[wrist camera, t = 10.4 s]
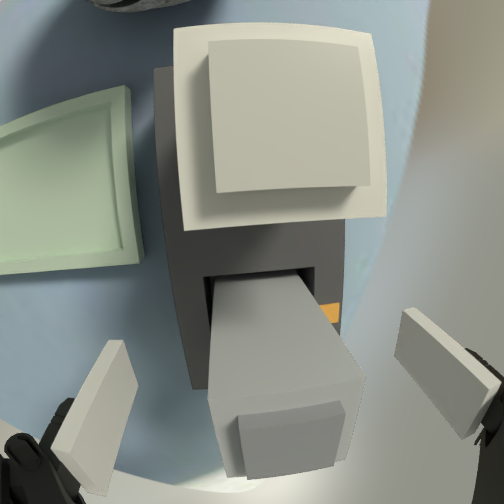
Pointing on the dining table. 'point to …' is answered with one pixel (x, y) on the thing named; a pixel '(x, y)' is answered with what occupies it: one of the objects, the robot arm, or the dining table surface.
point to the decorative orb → (134, 4)
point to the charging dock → (264, 161)
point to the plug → (278, 378)
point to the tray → (70, 186)
